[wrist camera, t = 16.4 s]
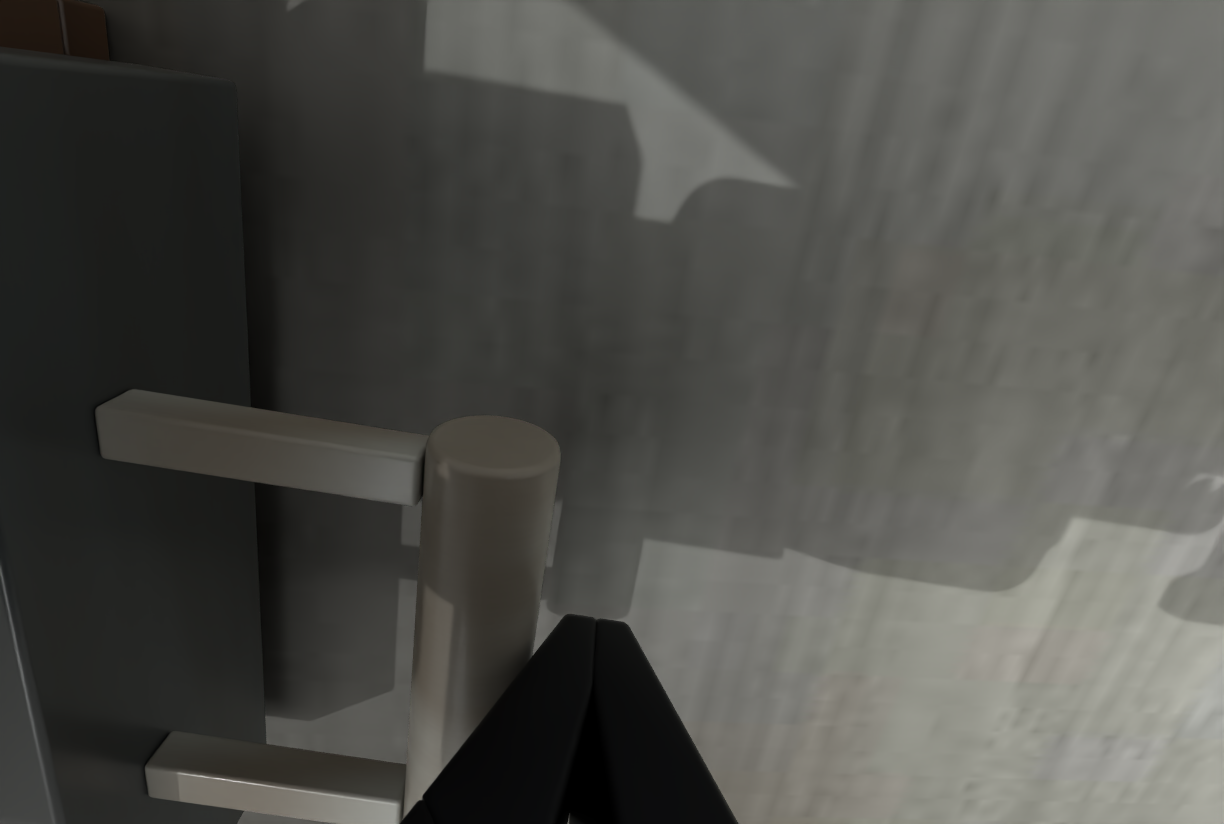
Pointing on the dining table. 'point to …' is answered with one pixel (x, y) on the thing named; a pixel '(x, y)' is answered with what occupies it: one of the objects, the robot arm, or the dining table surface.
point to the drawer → (198, 483)
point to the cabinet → (54, 27)
